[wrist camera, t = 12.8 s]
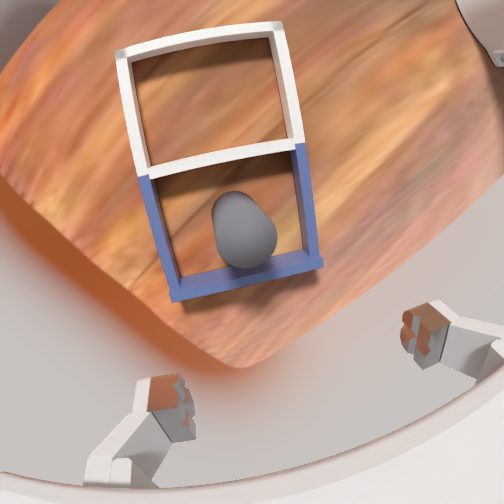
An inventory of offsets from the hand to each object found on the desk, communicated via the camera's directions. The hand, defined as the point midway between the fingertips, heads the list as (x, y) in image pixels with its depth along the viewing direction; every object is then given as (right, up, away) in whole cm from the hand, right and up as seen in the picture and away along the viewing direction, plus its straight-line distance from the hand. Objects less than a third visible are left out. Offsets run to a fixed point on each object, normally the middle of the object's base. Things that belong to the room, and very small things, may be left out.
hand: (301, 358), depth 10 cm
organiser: (-5, +12, +17) cm, 22 cm away
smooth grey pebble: (-3, +7, +19) cm, 21 cm away
